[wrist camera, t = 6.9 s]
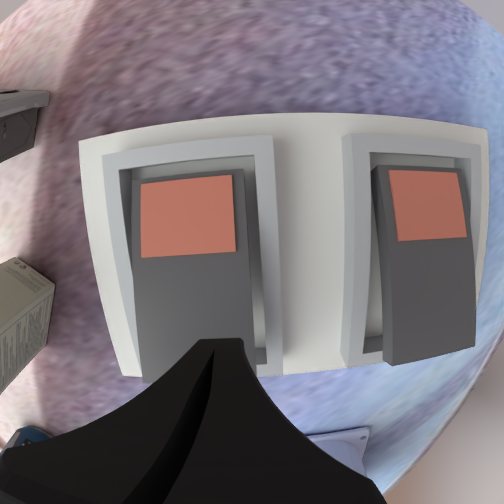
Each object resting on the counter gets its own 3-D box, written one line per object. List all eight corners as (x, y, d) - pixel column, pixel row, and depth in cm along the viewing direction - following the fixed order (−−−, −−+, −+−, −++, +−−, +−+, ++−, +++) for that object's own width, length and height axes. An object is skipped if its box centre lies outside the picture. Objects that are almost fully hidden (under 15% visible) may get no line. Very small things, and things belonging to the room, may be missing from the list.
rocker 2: (462, 342, 13) (476, 346, 12) (382, 359, 13) (393, 367, 12) (449, 175, 14) (462, 167, 13) (368, 172, 14) (378, 163, 13)
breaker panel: (454, 329, 19) (480, 354, 15) (132, 358, 19) (114, 390, 16) (468, 131, 15) (503, 128, 12) (95, 143, 16) (62, 139, 12)
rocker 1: (257, 374, 13) (256, 383, 12) (151, 374, 14) (142, 383, 12) (244, 177, 14) (243, 167, 13) (141, 187, 14) (130, 179, 13)
